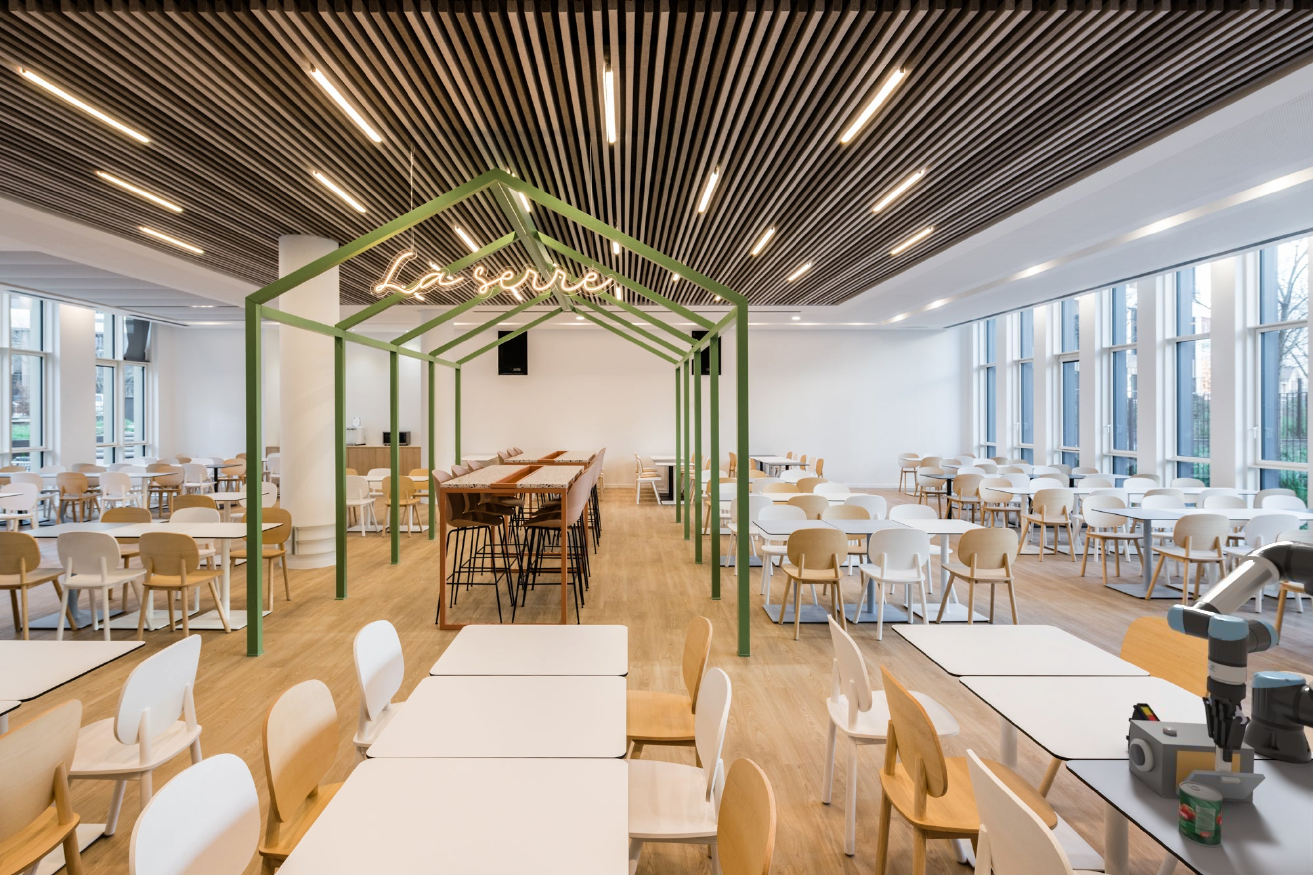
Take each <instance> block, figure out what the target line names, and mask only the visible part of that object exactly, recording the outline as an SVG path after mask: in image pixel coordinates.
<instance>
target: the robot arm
mask: <svg viewBox="0 0 1313 875" xmlns="http://www.w3.org/2000/svg"><path fill="white" fill-rule="evenodd" d="M1279 581H1280V582H1282V581H1283V582H1284V581H1285V582H1286V581H1287V582H1292V583H1298V584H1301V585H1303V593H1304V594H1305V595H1306V596H1308V598H1310V599H1311V608H1312V611H1313V543H1311V542H1302V541H1296V540H1282V541H1281V540H1280V541H1275V542H1271V543H1268V544H1265V545H1262V546H1259V547H1257V548H1255V549H1253V550H1250V551H1249V552H1247V553H1246V554H1245V555H1244V556H1242V557H1241V558H1239V560H1238V566H1237V567H1235V568H1234V569H1233V570H1232V571H1230V572H1229V573H1228V574H1227V575H1226V576H1224V577H1223V578H1221V580H1220V581H1218V582H1217V583H1216V584H1214V585H1213V586H1212V587H1211V588H1210V589H1208V590H1207V591H1206V592H1205V593H1203V594H1202V595H1201V596H1199V597H1198V598H1197V599H1196V600H1195V601H1193V602H1192V603H1191V604H1190V605H1189V606H1188V605H1185V604H1172V606H1170V607H1169V609H1168V612H1167V616H1166V621H1167V625H1168V627H1169V628H1170V629H1171V630H1173V631H1175V632H1178V633H1181V634H1184V635H1186V636H1191V637H1194V638H1199V639H1203V640H1206V641H1208V642H1207V645H1208V646H1207V648H1208V649H1207V650H1208V651H1207V675H1208V676H1207V677H1206V690H1207V692H1208V693H1210V694H1209V696H1202V698H1201V700H1202V702H1203V706H1204V710H1205V711H1204V712H1205V718H1206V724H1207V728H1208V735H1209V737H1210V738H1212V739H1213V741H1214V743H1215V756H1216V758H1215V771H1221V772H1231V763H1232V755H1233V750H1241V746H1242V742H1244V743H1246V744H1247V745H1249V746H1251V747H1252V748H1254V753H1257V754H1260V755H1262V756H1264V755H1265V757H1267V758H1271V759H1275V760H1279V761H1283V762H1288V763H1289V762H1290V763H1296V764H1302V763H1303V764H1304V763H1310V762H1311V761H1312V755H1313V754H1312V753H1313V752H1312V749H1311V747H1310V743H1309V740H1308V739H1307V736H1306V734H1305V733H1306V732H1305V727H1307V728H1310V729H1313V680H1312V681H1309V683H1308V684H1307V681H1306V678H1305V677H1304V676H1302V675H1300V674H1295V673H1290V672H1284V671H1278V670H1277V671H1276V670H1275V671H1273V670H1265V671H1264V670H1262V671H1258V672H1255V673H1254V674H1253V675H1252V682H1251V685H1250V687H1251V702H1250V703H1251V704H1250V705H1251V706H1250V717H1249V716H1245V714H1244V713H1243V711H1242V710H1243V707H1242V700H1245V699H1246V697H1247V684H1246V682H1247V681H1248V655H1249V654H1252V653H1260V652H1266V651H1268V650H1270V649H1273V648H1274V647H1276V646H1277V644H1278V643H1279V639H1280V638H1279V633H1278V631H1277V629H1276V628H1275V627H1274V626H1273V625H1272V624H1271V623H1269V622H1267V621H1265V620H1263V619H1262V620H1261V619H1249V620H1248V619H1243V618H1241V617H1238V616H1233V615H1232V614H1234V613H1235V612H1236V611H1237V610H1239V609H1240V608H1241V607H1243V605H1244V604H1246V603H1247V602H1248V601H1249V600H1251V598H1253V597H1254V596H1255V595H1256V594H1257V593H1258V592H1260V591H1261V590H1262V589H1264V588H1265V587H1266V586H1272V585H1275V584H1276V583H1277V582H1279ZM1213 732H1214V733H1213Z"/></svg>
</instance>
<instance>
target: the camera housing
mask: <svg viewBox="0 0 1313 875" xmlns="http://www.w3.org/2000/svg"><path fill="white" fill-rule="evenodd" d="M1160 721H1161V720H1160ZM1160 721H1141V720H1130V722H1129V727H1130V748H1128V750H1129V752H1128V754H1129V755H1128V757H1129V758H1128V770H1130V771H1131V772H1132V773H1133V774H1134V775H1135V776H1136V777H1137V778H1139V779H1140V780H1141V781H1142V782H1143V783H1144V784H1145V785H1147V786H1148V787H1149V788H1151V789H1152V790H1153V791H1154V792H1155V793H1156V794H1157V795H1159V796H1160V797H1161V798H1175V799H1179V795H1177V794H1176V792H1175V791H1176V790H1177V788H1178V787H1179V785H1180V783H1182V782H1183V781H1184V780H1185V779H1186V778H1187V777H1188V776H1189V775H1190V773H1191V772H1192V771H1193V770H1204V771H1215V758H1216V756H1215V743H1214V741H1213V739H1212V738H1210V737H1209V735H1208V728H1207V723H1197V722H1196V723H1194V722H1193V723H1192V722H1177V721H1161V722H1160ZM1213 733H1214V732H1213ZM1231 772H1238V773H1255V751H1254V748H1252V747H1251V746H1249V745H1247V744H1246V743H1244V742H1242V746H1241V750H1233V755H1232V763H1231ZM1253 801H1254V790H1253V791H1252V792H1251V793H1250V794H1249V795H1248V796H1247V797H1246V798H1245V799H1233V798H1222V802H1237V803H1238V802H1239V803H1252V804H1253V803H1254V802H1253Z"/></svg>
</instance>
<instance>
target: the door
mask: <svg viewBox="0 0 1313 875" xmlns="http://www.w3.org/2000/svg"><path fill="white" fill-rule="evenodd" d="M1265 779H1266V776H1265V775H1264V773H1255V772H1254V773H1238V772H1221V771H1204V770H1193V771H1192V772H1191V773H1190V775H1189V776H1188V777H1187V778H1186V779H1185V780H1184V781H1183V782H1195V783H1200V784H1203V785H1206V786H1209V787H1211V788H1213V789H1215V790H1217V791H1218V792H1219V793H1220V794H1221V795H1222V797H1223V798H1233V799H1245V798H1246V797H1247V796H1248V795H1249V794H1250V793H1251V792H1252V791H1253V792H1254V790H1256V788H1257V787H1258V786H1259V785H1260V784H1261V783H1262V782H1263V781H1264V780H1265ZM1179 791H1180V786H1179V787H1178V788H1177V790H1176V791H1175V792H1176V794H1177V795H1179Z"/></svg>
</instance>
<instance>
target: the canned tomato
mask: <svg viewBox="0 0 1313 875" xmlns="http://www.w3.org/2000/svg"><path fill="white" fill-rule="evenodd" d="M1179 786H1180V791H1179V798H1178V799H1179V801H1178V829H1177V830H1178V832H1179V834H1180V835H1181V836H1182V837H1183V838H1185V839H1186V840H1188V841H1189V842H1192V841H1193V842H1192V843H1194V844H1196V843H1197V845H1199V846H1203V845H1204V846H1203V847H1208V848H1218V847H1220V846H1221V845H1222V823H1223V822H1222V820H1223V819H1222V818H1223V816H1222V815H1223V813H1222V812H1223V801H1222V798H1223V797H1222V795H1221V794H1220V793H1219V792H1218V791H1217V790H1215V789H1213V788H1211V787H1209V786H1206V785H1203V784H1200V783H1195V782H1182V783H1180V785H1179Z"/></svg>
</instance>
